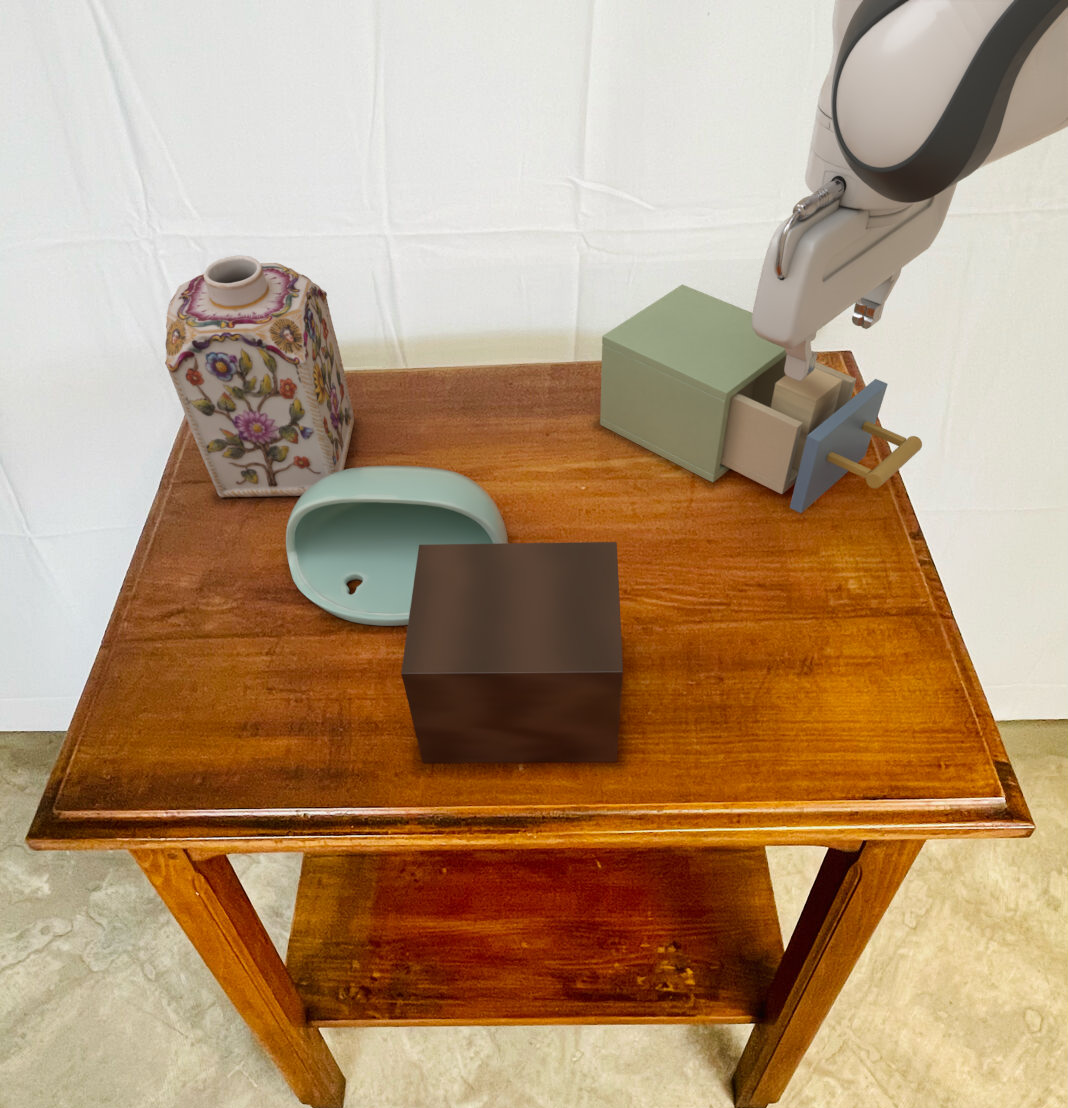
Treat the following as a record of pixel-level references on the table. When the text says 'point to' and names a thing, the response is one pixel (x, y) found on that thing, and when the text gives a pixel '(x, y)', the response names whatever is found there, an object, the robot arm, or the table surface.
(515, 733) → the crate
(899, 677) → the table surface
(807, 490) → the drawer
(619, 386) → the cabinet
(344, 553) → the planter
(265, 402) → the decorative jar
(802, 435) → the block
